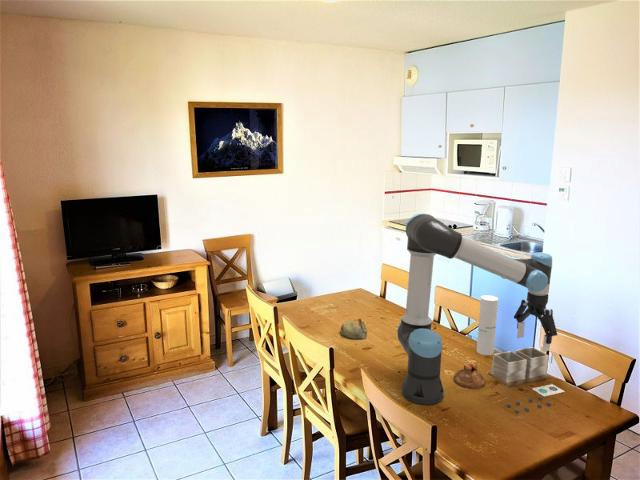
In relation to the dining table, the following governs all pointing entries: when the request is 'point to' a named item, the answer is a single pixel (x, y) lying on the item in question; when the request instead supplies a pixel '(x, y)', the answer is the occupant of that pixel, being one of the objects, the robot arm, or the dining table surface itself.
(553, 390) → the dot card
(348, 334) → the grey green rock
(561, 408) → the dining table surface
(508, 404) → the small grey cubes
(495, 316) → the cylindrical container
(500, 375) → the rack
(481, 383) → the brown patterned pot lid
